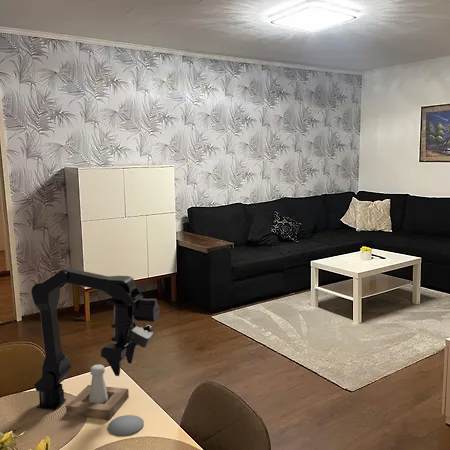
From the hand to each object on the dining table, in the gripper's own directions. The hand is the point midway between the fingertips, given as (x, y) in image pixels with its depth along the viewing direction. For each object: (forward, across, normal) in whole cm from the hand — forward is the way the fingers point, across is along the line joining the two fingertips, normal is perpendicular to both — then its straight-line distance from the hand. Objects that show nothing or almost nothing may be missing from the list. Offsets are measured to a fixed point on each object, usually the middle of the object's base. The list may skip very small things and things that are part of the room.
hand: (123, 369), depth 141 cm
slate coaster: (+13, -8, -4) cm, 16 cm away
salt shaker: (+14, +2, +9) cm, 17 cm away
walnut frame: (+14, +2, +9) cm, 16 cm away
